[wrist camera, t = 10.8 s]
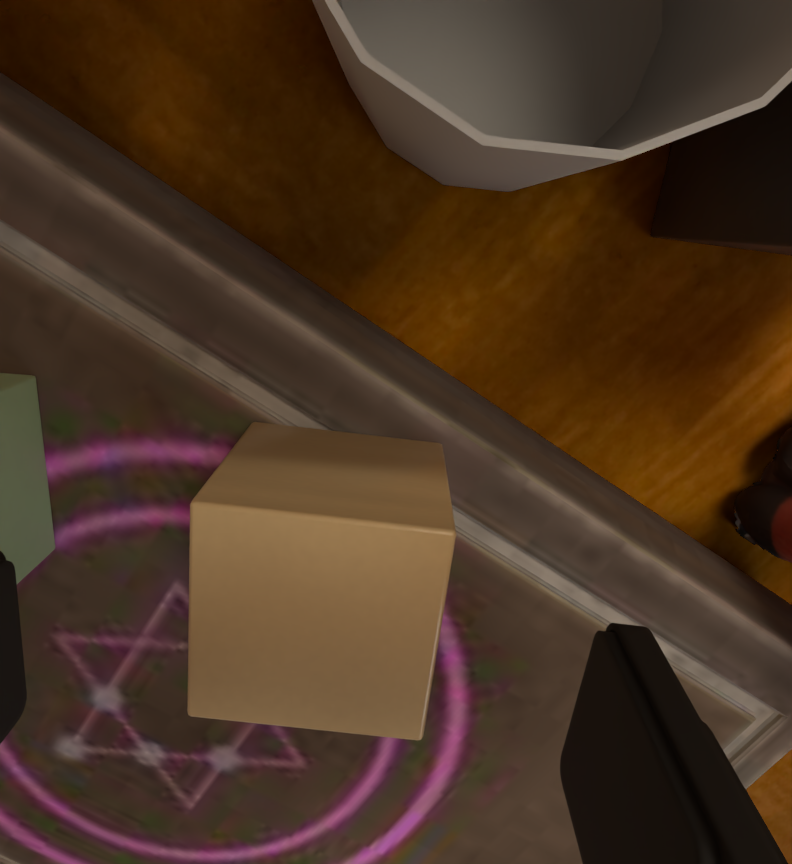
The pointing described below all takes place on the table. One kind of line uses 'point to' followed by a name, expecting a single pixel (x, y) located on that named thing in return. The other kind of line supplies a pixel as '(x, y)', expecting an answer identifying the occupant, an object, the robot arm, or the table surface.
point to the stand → (732, 183)
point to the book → (170, 539)
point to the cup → (553, 78)
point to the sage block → (23, 477)
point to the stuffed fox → (770, 504)
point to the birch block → (319, 581)
